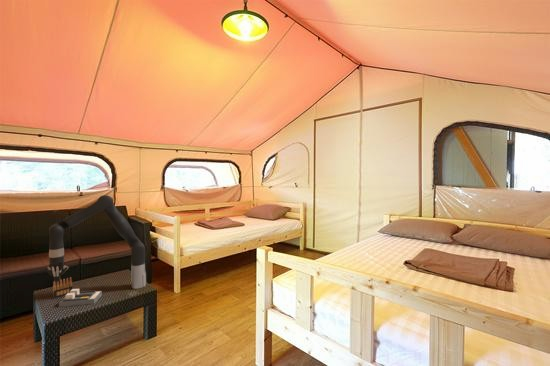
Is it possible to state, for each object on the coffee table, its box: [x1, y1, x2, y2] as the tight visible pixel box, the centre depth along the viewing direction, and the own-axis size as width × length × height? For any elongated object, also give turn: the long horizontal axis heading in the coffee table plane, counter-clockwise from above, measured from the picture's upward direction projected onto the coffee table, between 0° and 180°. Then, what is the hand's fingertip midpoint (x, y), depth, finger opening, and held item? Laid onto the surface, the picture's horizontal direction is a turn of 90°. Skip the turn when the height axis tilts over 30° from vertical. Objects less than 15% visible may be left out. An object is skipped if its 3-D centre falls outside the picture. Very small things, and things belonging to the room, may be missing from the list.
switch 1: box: [64, 293, 75, 300], centre depth 169 cm, size 4×3×3 cm
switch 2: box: [70, 288, 80, 295], centre depth 175 cm, size 4×3×3 cm
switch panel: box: [58, 289, 103, 308], centre depth 174 cm, size 20×12×4 cm, turn 103°
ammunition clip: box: [52, 276, 73, 299], centre depth 180 cm, size 11×2×12 cm, turn 138°
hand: (57, 281), depth 167 cm, fingers closed
